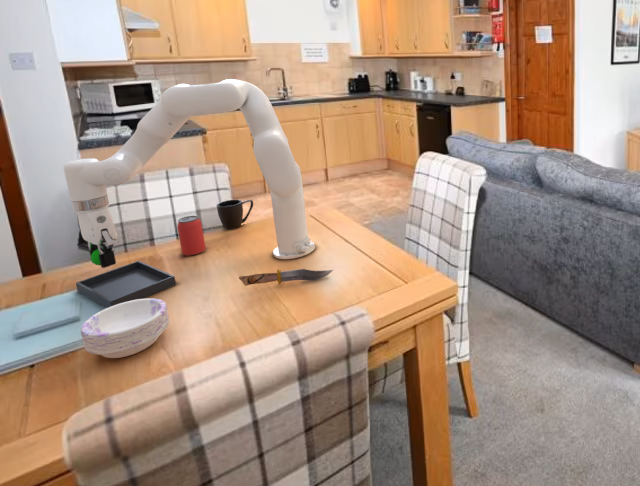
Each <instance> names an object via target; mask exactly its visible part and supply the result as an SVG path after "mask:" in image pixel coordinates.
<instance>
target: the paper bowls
mask: <svg viewBox="0 0 640 486" xmlns="http://www.w3.org/2000/svg"><path fill="white" fill-rule="evenodd" d="M169 324H170V318H169V311H168V306H167V303H166V302H165V301H164V300H162V299H160V298H148V297H145V298H143V299H137V300H132V301H127V302H123V303H120V304H117V305H114V306H111V307H109V308H106V307H105V308H104V309H102V310H100V311H98V312H96V313H94V314H93V315H92V316H90V317H88V318H87V319H86V320H85V321H84V322H83V324H81V327H80V335H81V339H82V344H83V348H84V350H85V352H87V353H89V354H92V355H99V356H102V357H103V358H106V359H119V358H120V359H121V358H126V357H129V356H132V355H136V354H138V353H140V352H142V351H144V350H146V349H147V348H149V347H150V346H151V345H153V344H154V343H155V342H156V341H157V340H158V339H159V337H160V335H162V334H163V333H164V332H165V331H166V330H167V328H168V327H169Z"/></svg>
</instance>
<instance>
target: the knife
mask: <svg viewBox="0 0 640 486" xmlns="http://www.w3.org/2000/svg"><path fill="white" fill-rule="evenodd" d="M333 271H334V269H327V270H326V269H325V270H311V269H306V268H301V269H300V268H299V269H292V270H284V271H281V270H280V269H277V272H267V273H265V272H263V273H255V274H251V275H240V276H238V279H239V281H241V282H242V284H243V285H244V286H245V287H247V286H250V285H256V284H257V285H258V284H259V285H260V284H267V283H273V282H277V283H278V284H277V285H278V286H280V285H281V284H282V283H285V282H292V281H293V282H294V281H307V282H313V281H319V280H321V279H323V278H325V277H327V276H329V275H330V274H331V273H332V272H333Z"/></svg>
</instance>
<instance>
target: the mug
mask: <svg viewBox="0 0 640 486" xmlns="http://www.w3.org/2000/svg"><path fill="white" fill-rule="evenodd" d="M249 202H250V205H249V209H248V211H247V213H246V214H245V216H244V215H243V214H244V209H243V207H244V206H243V205H244V204H246V203H249ZM253 207H254V201H253V199H247V200H243V201H242V199H228V200H223V201H220V202H219V203H217V204H216V210H217V211H216V212H217V215H218V218H219V221H220V223H221V224H222V226H223V229H225V230H235V229H239V228H240V227H241V226H242V224H244V223H245V222H246V221H247V219H248V217H249V216H250V214H251V212H252V210H253Z"/></svg>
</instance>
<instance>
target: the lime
mask: <svg viewBox="0 0 640 486" xmlns="http://www.w3.org/2000/svg"><path fill="white" fill-rule="evenodd" d="M102 249H103V248H102ZM99 255H100V252H99V249H97V250H95V251H94V252H93V253H92V255H91V256H90V262H91V263H92V262H93V263H92V264H94V265H95V266H101V263H100V259H99Z"/></svg>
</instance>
